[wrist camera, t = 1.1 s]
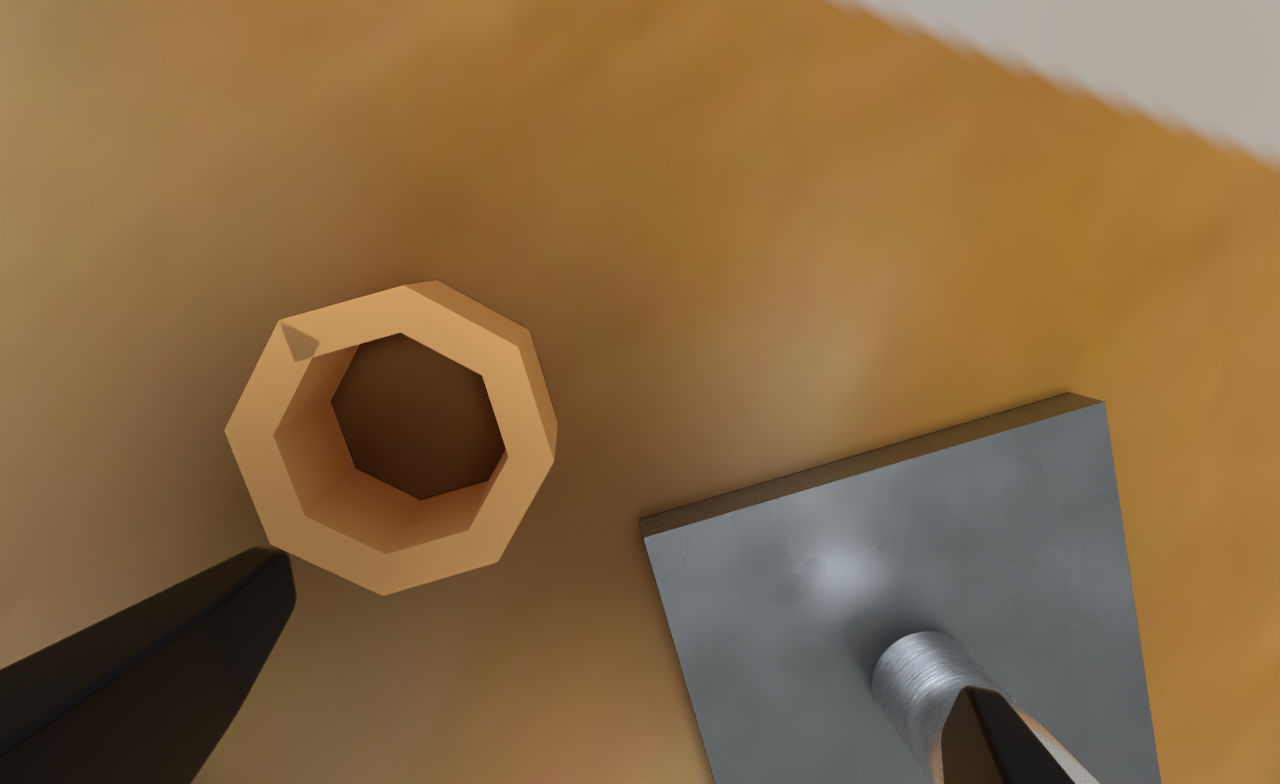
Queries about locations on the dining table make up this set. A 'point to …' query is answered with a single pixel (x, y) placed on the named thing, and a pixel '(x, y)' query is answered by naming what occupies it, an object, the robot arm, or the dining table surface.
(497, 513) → the collar
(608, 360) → the dining table surface
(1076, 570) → the piston stand
